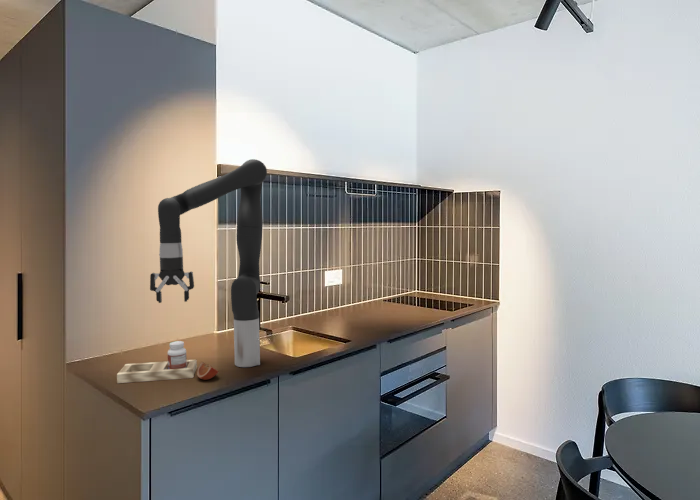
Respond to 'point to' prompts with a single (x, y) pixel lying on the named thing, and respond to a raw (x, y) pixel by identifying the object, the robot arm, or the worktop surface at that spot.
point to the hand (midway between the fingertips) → (173, 301)
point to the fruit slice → (206, 371)
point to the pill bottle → (177, 355)
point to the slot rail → (154, 372)
